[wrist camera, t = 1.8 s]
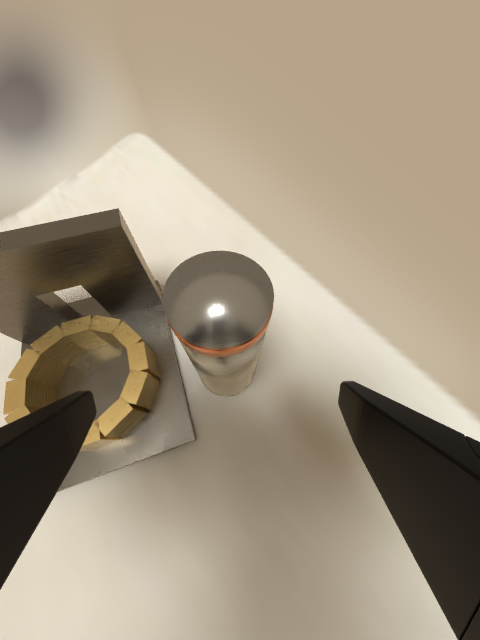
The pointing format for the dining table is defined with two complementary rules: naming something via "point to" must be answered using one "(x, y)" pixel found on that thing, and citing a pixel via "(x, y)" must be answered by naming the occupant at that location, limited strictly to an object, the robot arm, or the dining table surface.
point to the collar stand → (92, 339)
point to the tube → (220, 316)
